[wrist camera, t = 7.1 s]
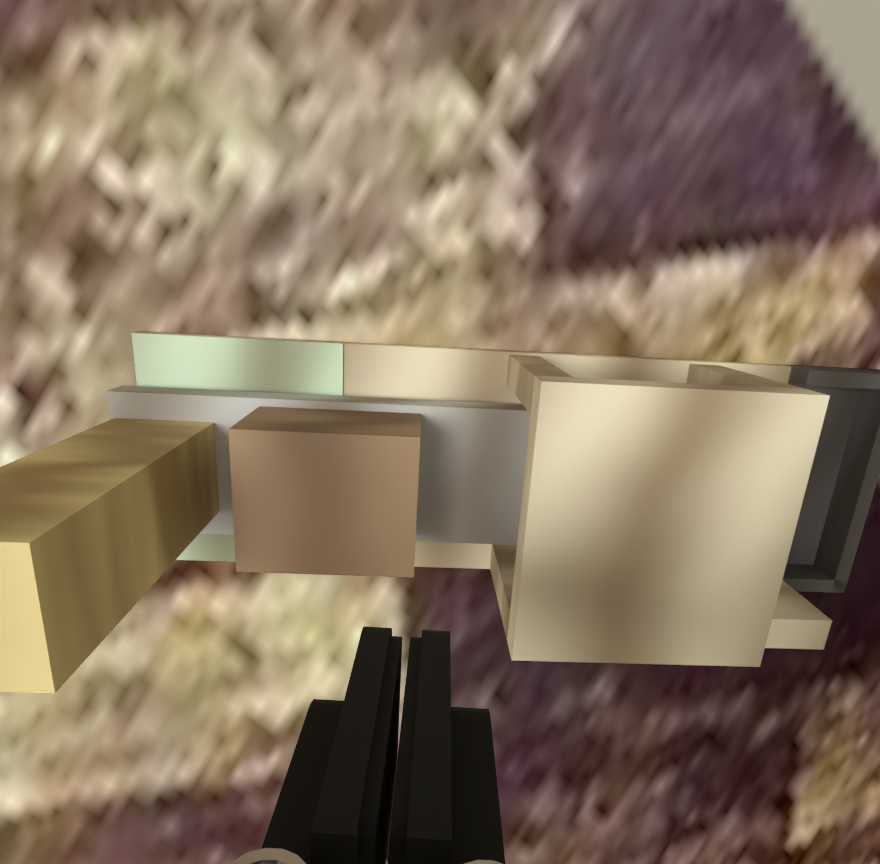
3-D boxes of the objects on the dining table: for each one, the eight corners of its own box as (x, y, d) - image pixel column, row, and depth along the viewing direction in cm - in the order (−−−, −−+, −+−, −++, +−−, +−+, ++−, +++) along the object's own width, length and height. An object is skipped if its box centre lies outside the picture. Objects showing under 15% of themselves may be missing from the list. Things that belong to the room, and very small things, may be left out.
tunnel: (876, 369, 22) (1058, 403, 16) (819, 574, 24) (955, 674, 18) (139, 331, 21) (15, 351, 14) (161, 552, 23) (63, 651, 17)
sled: (546, 405, 21) (664, 520, 11) (532, 533, 22) (623, 741, 12) (122, 385, 20) (-186, 488, 10) (137, 518, 22) (-118, 727, 11)
